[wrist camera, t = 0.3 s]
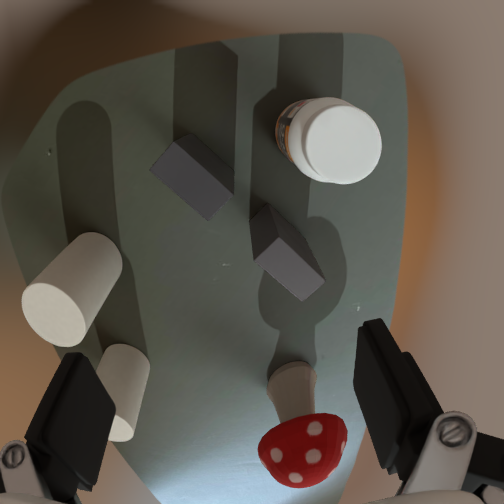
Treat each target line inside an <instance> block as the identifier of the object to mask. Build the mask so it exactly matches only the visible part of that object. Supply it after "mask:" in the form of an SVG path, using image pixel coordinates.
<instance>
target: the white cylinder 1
mask: <svg viewBox="0 0 504 504" xmlns="http://www.w3.org/2000/svg"><path fill="white" fill-rule="evenodd" d="M121 271H122V258H121V254H120V252H119V250H118V248H117V247H116V245H115V244H114V243H113V242H112V241H111V240H110V239H109V238H107V237H106V236H104V235H102V234H99V233H95V232H87V233H83V234H81V235H79V236H78V237H77V238H76V239H75V240H74V241H73V242H71V243H70V244H69V245H68V246H67V247H66V248H65V249H64V250H63V251H62V252H61V253H60V254H59V255H58V256H57V257H56V258H55V259H54V260H53V261H52V262H51V263H50V264H49V265H48V266H47V267H46V268H45V269H44V270H43V271H42V272H41V273H40V274H39V275H38V276H37V277H36V278H35V279H34V280H33V281H32V282H31V283H30V284H29V286H28V287H27V288H26V289H25V291H24V293H23V295H22V309H23V312H24V315H25V317H26V319H27V321H28V323H29V324H30V326H31V327H32V328H33V329H34V331H35V332H36V333H37V334H38V335H40V336H41V337H42V338H43V339H45V340H47V341H48V342H50V343H52V344H55V345H58V346H62V347H71V346H75V345H77V344H78V343H80V342H81V341H82V340H83V338H84V336H85V334H86V333H87V331H88V329H89V327H90V325H91V324H92V322H93V320H94V318H95V317H96V315H97V313H98V311H99V310H100V308H101V306H102V305H103V303H104V301H105V299H106V298H107V296H108V294H109V293H110V291H111V289H112V288H113V286H114V284H115V283H116V281H117V280H118V278H119V276H120V274H121Z"/></svg>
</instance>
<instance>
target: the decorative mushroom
mask: <svg viewBox="0 0 504 504" xmlns="http://www.w3.org/2000/svg"><path fill="white" fill-rule="evenodd" d="M316 379H317V375H316V372H315V370H314V369H313V368H312V367H311V366H310V365H309V364H308V363H306V362H303V361H294V362H290V363H287V364H285V365H283V366H281V367H279V368H278V369H277V370H275V372H274V373H273V374H272V375H271V377H270V379H269V382H268V386H267V395H268V397H269V398H270V400H271V401H272V402H273V404H274V406H275V408H276V411H277V414H278V417H279V420H280V423H281V424H279V425H277V426H276V427H274V428H272V429H270V430H269V431H268V432H267V433H266V434H265V435H264V436H263V437H262V439H261V441H260V442H259V445H258V455H259V458H260V460H261V462H262V464H263V465H264V466H265V467H266V468H267V470H268V471H269V472H270V474H271V475H272V476H273V477H274V478H275V479H276V480H277V481H278V482H279V483H281V484H283V485H285V486H288V487H292V488H306V487H310V486H313V485H316V484H318V483H320V482H322V481H323V480H325V479H326V478H327V477H328V476H330V475H331V474H332V472H333V471H334V470H335V469H336V467H337V466H338V464H339V461H340V459H341V456H342V453H343V450H344V448H345V445H346V442H347V428H346V426H345V423H344V421H343V419H341V418H340V417H338V416H337V415H333V414H328V413H317V414H315V401H314V388H315V384H316Z"/></svg>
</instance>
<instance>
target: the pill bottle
mask: <svg viewBox="0 0 504 504" xmlns="http://www.w3.org/2000/svg"><path fill="white" fill-rule="evenodd" d="M275 137H276V141H277V144H278V147H279V149H280V150H281V152H282V153H283V154H284V155H285V156H286V157H287V158H288V159H289V161H290V162H292V163H293V164H294V165H295V166H296V167H297V168H298V169H299V170H300V171H301V172H302V173H303V174H305V175H306V176H308V177H310V178H312V179H315V180H317V181H321V182H333V183H337V184H350V183H354V182H357V181H360V180H362V179H363V178H365V177H366V176H367V175H369V174H370V173H371V172H372V170H373V169H374V168H375V166H376V165H377V163H378V160H379V158H380V155H381V147H382V143H381V136H380V132H379V130H378V127H377V125H376V123H375V122H374V121H373V119H372V118H371V117H370V116H369V115H368V114H367V113H365V112H364V111H362V110H361V109H359V108H357V107H354V106H353V105H351V104H350V103H348V102H346V101H344V100H341V99H338V98H333V97H322V98H315V99H306V100H301V101H298V102H295V103H293V104H291V105H290V106H288V107H287V108H286V109H285V110H284V111H283V112H282V113H281V115H280V116H279V118H278V120H277V124H276V129H275Z"/></svg>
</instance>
